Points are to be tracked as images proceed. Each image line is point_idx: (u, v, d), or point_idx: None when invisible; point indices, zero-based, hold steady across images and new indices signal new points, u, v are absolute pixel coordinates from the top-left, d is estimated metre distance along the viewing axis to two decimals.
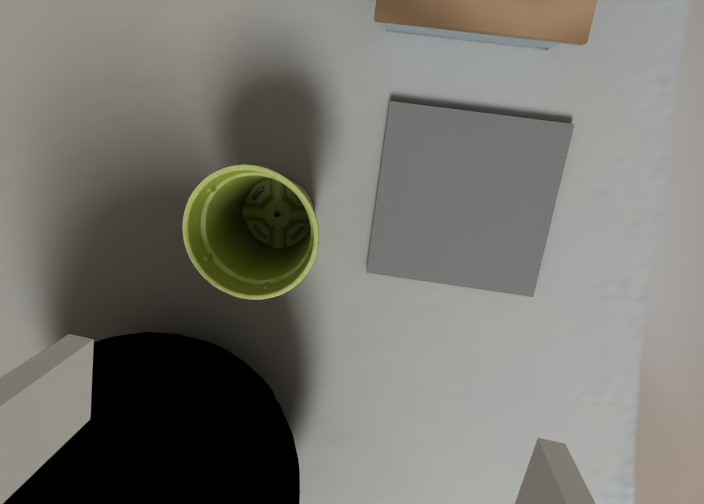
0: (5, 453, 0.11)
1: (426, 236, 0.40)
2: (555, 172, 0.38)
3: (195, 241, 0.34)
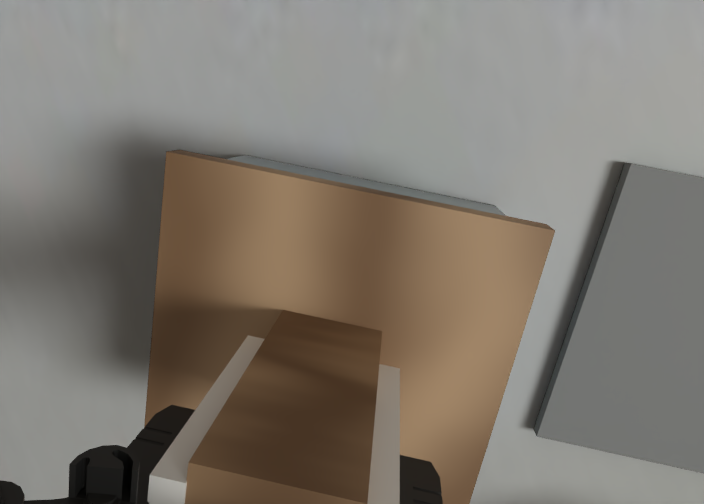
0: None
1: None
2: None
3: None
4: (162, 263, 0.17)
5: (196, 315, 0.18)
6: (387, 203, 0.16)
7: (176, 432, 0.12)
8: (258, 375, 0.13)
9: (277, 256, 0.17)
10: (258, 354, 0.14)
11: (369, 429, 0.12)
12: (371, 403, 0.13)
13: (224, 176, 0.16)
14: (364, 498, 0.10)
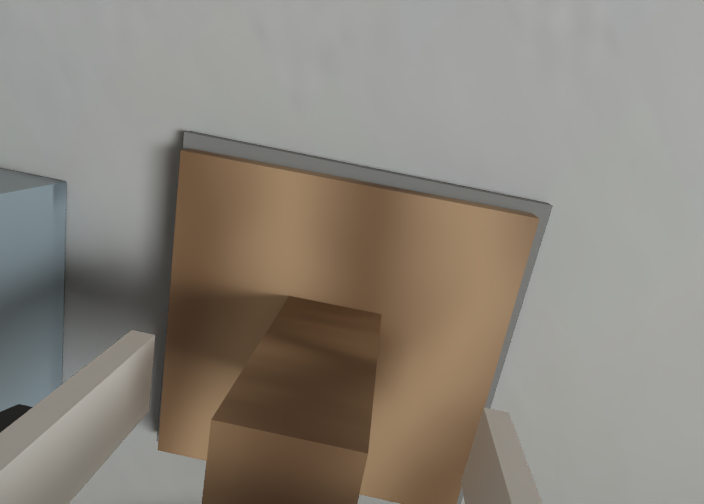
0: (87, 439, 0.12)
1: None
2: (277, 164, 0.18)
3: None
4: (177, 254, 0.19)
5: (209, 302, 0.19)
6: (384, 195, 0.17)
7: None
8: (269, 351, 0.14)
9: (283, 246, 0.18)
10: (268, 333, 0.15)
11: (369, 395, 0.13)
12: (371, 374, 0.14)
13: (234, 172, 0.18)
14: (365, 449, 0.11)
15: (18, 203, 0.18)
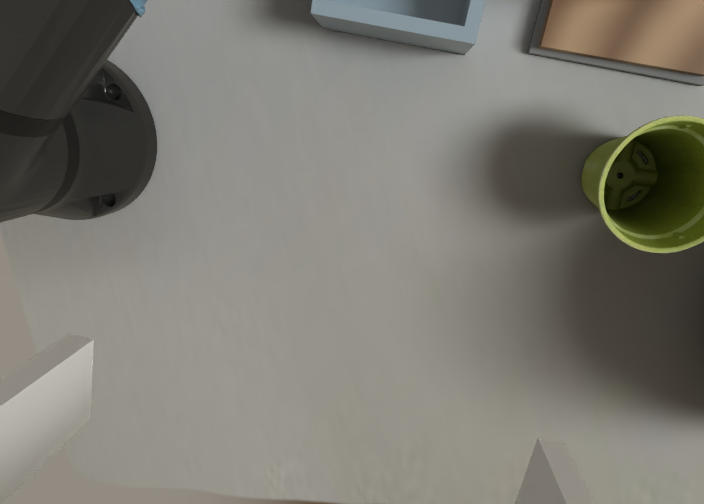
0: (5, 453, 0.11)
1: None
2: None
3: (662, 243, 0.35)
4: None
5: None
6: None
7: None
8: None
9: None
10: None
11: None
12: None
13: None
14: None
15: None
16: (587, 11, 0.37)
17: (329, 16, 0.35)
